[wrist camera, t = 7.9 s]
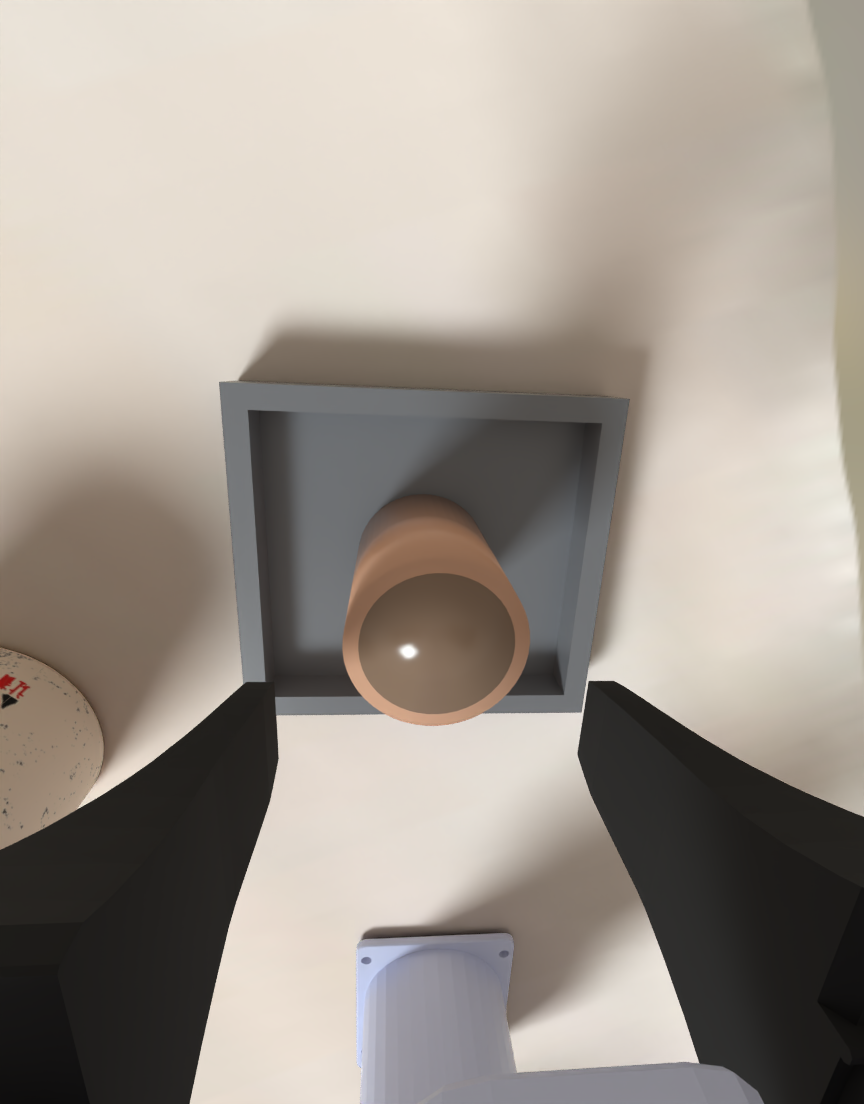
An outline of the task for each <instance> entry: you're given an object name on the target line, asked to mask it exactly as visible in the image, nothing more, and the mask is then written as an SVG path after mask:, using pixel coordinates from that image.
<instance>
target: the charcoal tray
mask: <svg viewBox="0 0 864 1104" xmlns="http://www.w3.org/2000/svg"><path fill="white" fill-rule="evenodd" d="M219 387H220V399H221V411H222V424H223V436H224V449H225V461H226V474H227V486H228V498H229V511H230V523H231V536H232V548H233V561H234V573H235V585H236V598H237V610H238V623H239V635H240V648H241V660H242V672H243V684H245V683H246V682H274V686H275V704H276V715H360V714H384V713H382V712H381V711H379V710H378V709H376V708H375V707H373V706H372V705H371V704H370V703H369V702H368V701H366V700H365V699H364V698H363V696H362V695H361V694H360V693H359V692H358V691H357V689H356V687H355V686H354V684H353V683H352V681H351V679H350V677H349V675H348V672H347V670H346V666H345V663H344V658H343V650H342V644H343V633H344V627H345V621H346V616H347V610H348V604H349V599H350V593H351V587H352V582H353V576H354V570H355V565H356V559H357V553H358V548H359V542H360V539H361V536H362V533H363V531H364V529H365V527H366V525H367V524H368V522H369V521H370V519H371V518H372V517H373V516H374V515H375V514H376V513H377V512H378V511H379V510H380V509H381V508H383V507H384V506H385V505H387V504H388V503H390V502H392V501H394V500H396V499H399V498H402V497H405V496H410V495H417V494H430V495H436V496H440V497H443V498H446V499H448V500H451V501H453V502H455V503H456V504H458V505H459V506H461V507H462V508H463V509H464V510H466V511H467V512H468V513H469V514H470V516H471V517H472V518H473V519H474V521H475V522H476V524H477V525H478V527H479V529H480V531H481V532H482V534H483V536H484V538H485V539H486V541H487V543H488V545H489V546H490V548H491V550H492V552H493V554H494V555H495V557H496V559H497V561H498V562H499V564H500V566H501V568H502V569H503V571H504V573H505V575H506V576H507V578H508V580H509V582H510V584H511V585H512V587H513V589H514V591H515V592H516V594H517V596H518V598H519V599H520V601H521V603H522V605H523V608H524V610H525V612H526V615H527V619H528V623H529V629H530V647H529V654H528V657H527V661H526V664H525V667H524V669H523V671H522V674H521V675H520V677H519V679H518V680H517V682H516V684H515V685H514V686H513V688H512V689H511V690H510V691H509V693H508V694H507V695H506V696H505V697H504V698H503V699H502V700H500V701H499V702H498V703H497V704H495V705H494V706H493V707H492V708H490V709H488V710H487V711H485V712H483V713H575V712H582V705H583V699H584V692H585V686H586V679H587V673H588V666H589V660H590V653H591V647H592V640H593V634H594V627H595V621H596V614H597V608H598V601H599V595H600V588H601V582H602V575H603V569H604V562H605V556H606V549H607V543H608V536H609V530H610V523H611V517H612V510H613V504H614V497H615V491H616V484H617V478H618V471H619V465H620V458H621V452H622V445H623V439H624V432H625V426H626V419H627V413H628V406H629V400H630V399H625V398H617V397H608V396H589V395H565V394H541V393H517V392H493V391H469V390H445V389H422V388H398V387H374V386H350V385H326V384H302V383H278V382H254V381H226V382H219Z"/></svg>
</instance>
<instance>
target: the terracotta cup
mask: <svg viewBox="0 0 864 1104" xmlns="http://www.w3.org/2000/svg"><path fill="white" fill-rule="evenodd" d="M529 647H530V629H529V623H528V619H527V615H526V612H525V610H524V608H523V605H522V603H521V601H520V599H519V598H518V596H517V594H516V592H515V591H514V589H513V587H512V585H511V584H510V582H509V580H508V578H507V576H506V575H505V573H504V571H503V569H502V568H501V566H500V564H499V562H498V561H497V559H496V557H495V555H494V554H493V552H492V550H491V548H490V546H489V545H488V543H487V541H486V539H485V538H484V536H483V534H482V532H481V531H480V529H479V527H478V525H477V524H476V522H475V521H474V519H473V518H472V517H471V516H470V514H469V513H468V512H467V511H466V510H464V509H463V508H462V507H461V506H459V505H458V504H456V503H455V502H453V501H451V500H448V499H446V498H443V497H440V496H436V495H430V494H417V495H410V496H405V497H402V498H399V499H396V500H394V501H392V502H390V503H388V504H387V505H385V506H384V507H383V508H381V509H380V510H379V511H378V512H377V513H376V514H375V515H374V516H373V517H372V518H371V519H370V521H369V522H368V524H367V525H366V527H365V529H364V531H363V533H362V536H361V539H360V542H359V548H358V553H357V559H356V565H355V570H354V576H353V582H352V587H351V593H350V599H349V604H348V610H347V616H346V621H345V627H344V633H343V644H342V650H343V658H344V663H345V666H346V670H347V672H348V675H349V677H350V679H351V681H352V683H353V684H354V686H355V687H356V689H357V691H358V692H359V693H360V694H361V695H362V696H363V698H364V699H365V700H366V701H368V702H369V703H370V704H371V705H372V706H373V707H375V708H376V709H378V710H379V711H381V712H382V713H384V714H386V715H388V716H390V717H392V718H395V719H397V720H400V721H403V722H407V723H411V724H417V725H425V726H439V725H449V724H453V723H458V722H462V721H465V720H468V719H471V718H473V717H475V716H477V715H479V714H482V713H483V712H485V711H487V710H488V709H490V708H492V707H493V706H494V705H495V704H497V703H498V702H499V701H500V700H502V699H503V698H504V697H505V696H506V695H507V694H508V693H509V691H510V690H511V689H512V688H513V686H514V685H515V684H516V682H517V680H518V679H519V677H520V675H521V674H522V671H523V669H524V667H525V664H526V661H527V657H528V654H529Z"/></svg>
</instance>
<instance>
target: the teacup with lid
mask: <svg viewBox="0 0 864 1104" xmlns="http://www.w3.org/2000/svg"><path fill="white" fill-rule="evenodd" d="M103 754H104V743H103V736H102V732H101V728H100V725H99V722H98V720H97V717H96V715H95V713H94V711H93V709H92V708H91V706H90V705H89V703H88V702H87V700H86V699H85V698H84V696H83V695H82V694H81V693H80V691H79V690H78V689H77V688H76V687H75V686H74V685H73V684H72V683H71V682H69V681H68V680H67V679H66V678H65V677H63V676H62V675H61V674H59V673H58V672H57V671H55V670H54V669H52V668H50V667H49V666H47V665H45V664H44V663H42V662H40V661H38V660H36V659H34V658H31V657H29V656H27V655H24V654H21V653H18V652H15V651H12V650H8V649H4V648H0V850H1V849H3V848H5V847H7V846H9V845H12V844H14V843H16V842H18V841H20V840H22V839H24V838H26V837H28V836H30V835H32V834H34V833H36V832H38V831H40V830H41V829H43V828H45V827H47V826H49V825H51V824H53V823H54V822H56V821H58V820H60V819H61V818H63V817H65V816H67V815H68V814H70V813H72V812H74V811H76V809H77V808H78V807H79V805H80V804H81V802H82V801H83V800H84V798H85V797H86V795H87V794H88V793H89V791H90V790H91V788H92V787H93V785H94V783H95V782H96V780H97V778H98V775H99V773H100V770H101V766H102V762H103Z"/></svg>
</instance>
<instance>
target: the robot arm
mask: <svg viewBox="0 0 864 1104" xmlns="http://www.w3.org/2000/svg"><path fill="white" fill-rule="evenodd" d="M578 758H579V761H580V764H581V767H582V770H583V773H584V777H585V779H586V782H587V785H588V788H589V791H590V794H591V796H592V798H593V801H594V803H595V805H596V807H597V809H598V811H599V813H600V815H601V817H602V819H603V822H604V824H605V826H606V828H607V830H608V832H609V834H610V836H611V838H612V840H613V842H614V844H615V846H616V848H617V850H618V852H619V854H620V856H621V858H622V860H623V862H624V864H625V867H626V869H627V871H628V873H629V875H630V877H631V879H632V881H633V883H634V885H635V887H636V889H637V891H638V894H639V896H640V898H641V900H642V903H643V905H644V907H645V910H646V912H647V915H648V917H649V920H650V923H651V925H652V928H653V931H654V933H655V936H656V939H657V941H658V944H659V947H660V949H661V952H662V955H663V957H664V960H665V963H666V966H667V968H668V971H669V974H670V977H671V980H672V983H673V986H674V988H675V991H676V994H677V997H678V1000H679V1003H680V1005H681V1008H682V1011H683V1014H684V1017H685V1020H686V1023H687V1026H688V1029H689V1032H690V1035H691V1039H692V1042H693V1045H694V1048H695V1051H696V1054H697V1057H698V1060H699V1063H700V1064H697V1063H689V1062H678V1063H663V1064H647V1065H632V1066H617V1067H601V1068H586V1069H571V1070H555V1071H540V1072H524V1073H517V1072H516V1066H515V1060H514V1055H513V1049H512V1044H511V1038H510V1033H509V1027H508V1022H507V1016H506V1007H507V999H508V991H509V983H510V975H511V968H512V960H513V952H514V941H513V937H512V936H511V935H510V934H508V933H493V934H470V935H447V936H425V937H402V938H380V939H364V940H362V941H360V942H359V943H358V944H357V950H356V999H357V1065H358V1066H359V1067H360V1068H361V1093H360V1104H864V817H863V816H860V815H857V814H855V813H852V812H850V811H847V810H845V809H842V808H840V807H838V806H835V805H833V804H831V803H828V802H826V801H824V800H821V799H819V798H817V797H814V796H812V795H810V794H807V793H805V792H803V791H801V790H799V789H797V788H794V787H792V786H790V785H788V784H786V783H784V782H782V781H780V780H778V779H776V778H774V777H772V776H770V775H768V774H766V773H764V772H762V771H760V770H758V769H756V768H754V767H752V766H750V765H749V764H747V763H745V762H743V761H741V760H739V759H738V758H736V757H734V756H732V755H731V754H729V753H727V752H726V751H724V750H722V749H720V748H719V747H717V746H715V745H714V744H712V743H710V742H709V741H707V740H705V739H704V738H702V737H701V736H699V735H697V734H696V733H694V732H693V731H691V730H689V729H688V728H686V727H685V726H683V725H682V724H680V723H679V722H677V721H676V720H674V719H672V718H671V717H669V716H668V715H666V714H665V713H663V712H662V711H660V710H659V709H657V708H656V707H654V706H653V705H651V704H650V703H649V702H647V701H646V700H644V699H643V698H641V697H639V696H638V695H636V694H635V693H633V692H632V691H630V690H629V689H627V688H625V687H624V686H622V685H620V684H619V683H617V682H615V681H589V683H588V690H587V696H586V702H585V709H584V715H583V722H582V728H581V735H580V741H579V747H578ZM278 759H279V758H278V740H277V722H276V704H275V686H274V682H246V683H245V684H243V685H242V686H241V687H240V688H239V689H238V690H237V691H235V692H234V693H233V694H232V695H231V696H230V697H229V698H228V699H226V700H225V701H224V702H223V703H222V704H221V705H220V706H219V707H218V708H216V709H215V710H214V711H213V712H212V713H211V714H210V715H209V716H208V717H206V718H205V719H204V720H203V721H202V722H201V723H199V724H198V725H197V726H196V727H195V728H194V729H192V730H191V731H190V732H189V733H188V734H187V735H185V736H184V737H183V738H182V739H180V740H179V741H178V742H176V743H175V744H174V745H173V746H171V747H170V748H169V749H167V750H166V751H165V752H164V753H162V754H161V755H160V756H159V757H157V758H156V759H155V760H153V761H152V762H151V763H149V764H148V765H147V766H145V767H144V768H142V769H141V770H140V771H138V772H137V773H135V774H134V775H132V776H131V777H129V778H128V779H126V780H125V781H123V782H122V783H120V784H119V785H117V786H116V787H114V788H113V789H111V790H109V791H108V792H106V793H105V794H103V795H102V796H100V797H98V798H97V799H95V800H93V801H91V802H90V803H88V804H86V805H84V806H83V807H81V808H79V809H77V810H76V811H74V812H72V813H70V814H68V815H67V816H65V817H63V818H61V819H60V820H58V821H56V822H54V823H53V824H51V825H49V826H47V827H45V828H43V829H41V830H40V831H38V832H36V833H34V834H32V835H30V836H28V837H26V838H24V839H22V840H20V841H18V842H16V843H14V844H12V845H9V846H7V847H5V848H3V849H1V850H0V1104H189V1103H190V1098H191V1094H192V1089H193V1084H194V1079H195V1075H196V1070H197V1065H198V1060H199V1055H200V1051H201V1046H202V1041H203V1037H204V1032H205V1028H206V1023H207V1019H208V1014H209V1010H210V1005H211V1001H212V996H213V992H214V988H215V983H216V979H217V975H218V970H219V966H220V962H221V958H222V953H223V949H224V945H225V941H226V937H227V932H228V928H229V924H230V921H231V918H232V914H233V911H234V907H235V904H236V901H237V898H238V895H239V892H240V889H241V886H242V883H243V880H244V877H245V874H246V871H247V868H248V865H249V862H250V859H251V856H252V853H253V851H254V848H255V845H256V842H257V839H258V836H259V833H260V830H261V827H262V824H263V821H264V818H265V815H266V812H267V808H268V805H269V802H270V798H271V793H272V789H273V784H274V779H275V774H276V769H277V764H278Z"/></svg>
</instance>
